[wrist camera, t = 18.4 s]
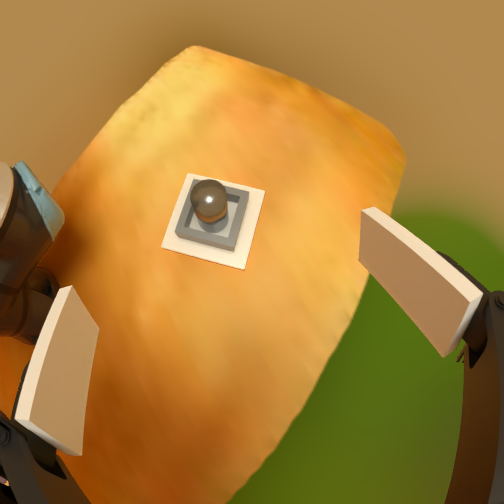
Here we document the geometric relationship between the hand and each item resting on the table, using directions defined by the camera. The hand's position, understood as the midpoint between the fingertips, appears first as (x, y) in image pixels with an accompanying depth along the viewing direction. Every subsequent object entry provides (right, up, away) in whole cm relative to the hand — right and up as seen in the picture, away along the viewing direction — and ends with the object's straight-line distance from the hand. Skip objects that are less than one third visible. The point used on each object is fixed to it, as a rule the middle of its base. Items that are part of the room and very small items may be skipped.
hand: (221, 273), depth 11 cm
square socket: (-5, +6, +35) cm, 36 cm away
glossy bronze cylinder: (-5, +6, +34) cm, 35 cm away
